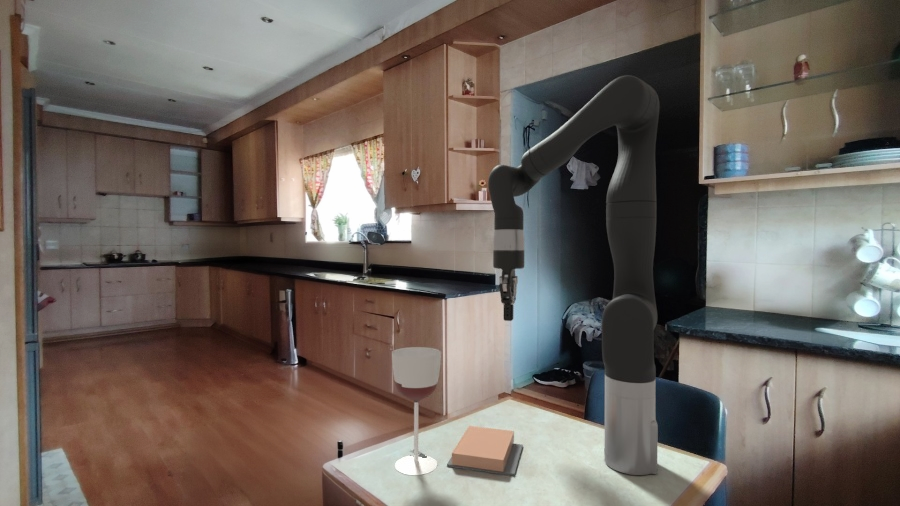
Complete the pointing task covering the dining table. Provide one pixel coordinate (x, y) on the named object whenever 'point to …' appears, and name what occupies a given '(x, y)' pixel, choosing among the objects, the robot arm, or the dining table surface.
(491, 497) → the dining table surface
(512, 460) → the mat
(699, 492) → the dining table surface
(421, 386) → the wineglass
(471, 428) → the picture frame
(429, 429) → the dining table surface
